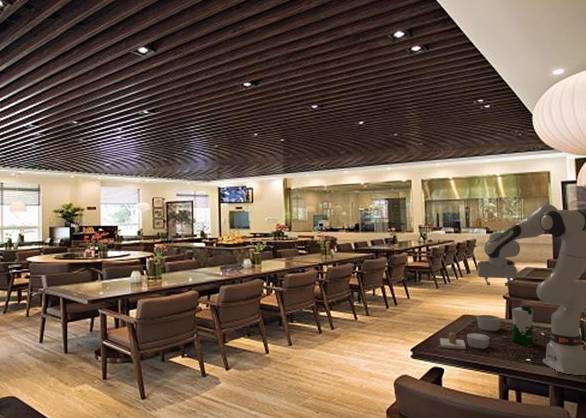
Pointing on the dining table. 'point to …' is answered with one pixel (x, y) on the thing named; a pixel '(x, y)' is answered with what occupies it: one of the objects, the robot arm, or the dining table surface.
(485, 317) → the ramekin
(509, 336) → the dining table surface
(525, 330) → the milk carton
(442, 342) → the cover
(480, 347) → the ramekin
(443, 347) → the mat
